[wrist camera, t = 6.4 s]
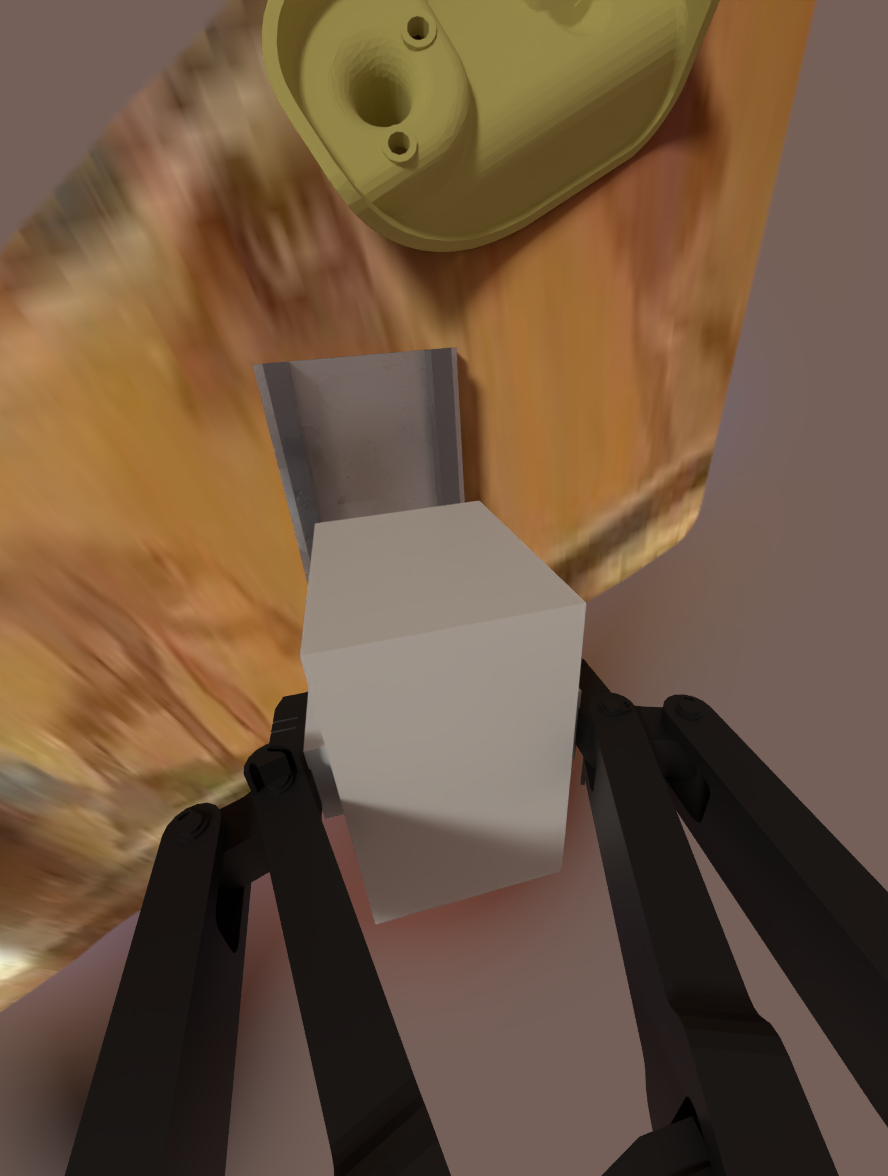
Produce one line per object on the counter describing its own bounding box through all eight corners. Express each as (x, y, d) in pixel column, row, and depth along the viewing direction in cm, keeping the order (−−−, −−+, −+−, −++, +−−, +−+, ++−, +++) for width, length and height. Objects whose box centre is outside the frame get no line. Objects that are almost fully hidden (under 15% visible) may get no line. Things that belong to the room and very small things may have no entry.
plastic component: (633, -272, 17) (759, -37, 18) (571, -23, 25) (663, 137, 25) (213, -2, 17) (356, 225, 18) (276, 168, 25) (376, 323, 25)
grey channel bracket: (324, 640, 36) (323, 663, 33) (255, 364, 26) (246, 365, 23) (467, 614, 38) (477, 634, 35) (451, 347, 28) (464, 346, 25)
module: (359, 730, 20) (374, 924, 13) (313, 523, 15) (297, 656, 8) (487, 703, 21) (562, 870, 14) (480, 500, 16) (588, 602, 9)
